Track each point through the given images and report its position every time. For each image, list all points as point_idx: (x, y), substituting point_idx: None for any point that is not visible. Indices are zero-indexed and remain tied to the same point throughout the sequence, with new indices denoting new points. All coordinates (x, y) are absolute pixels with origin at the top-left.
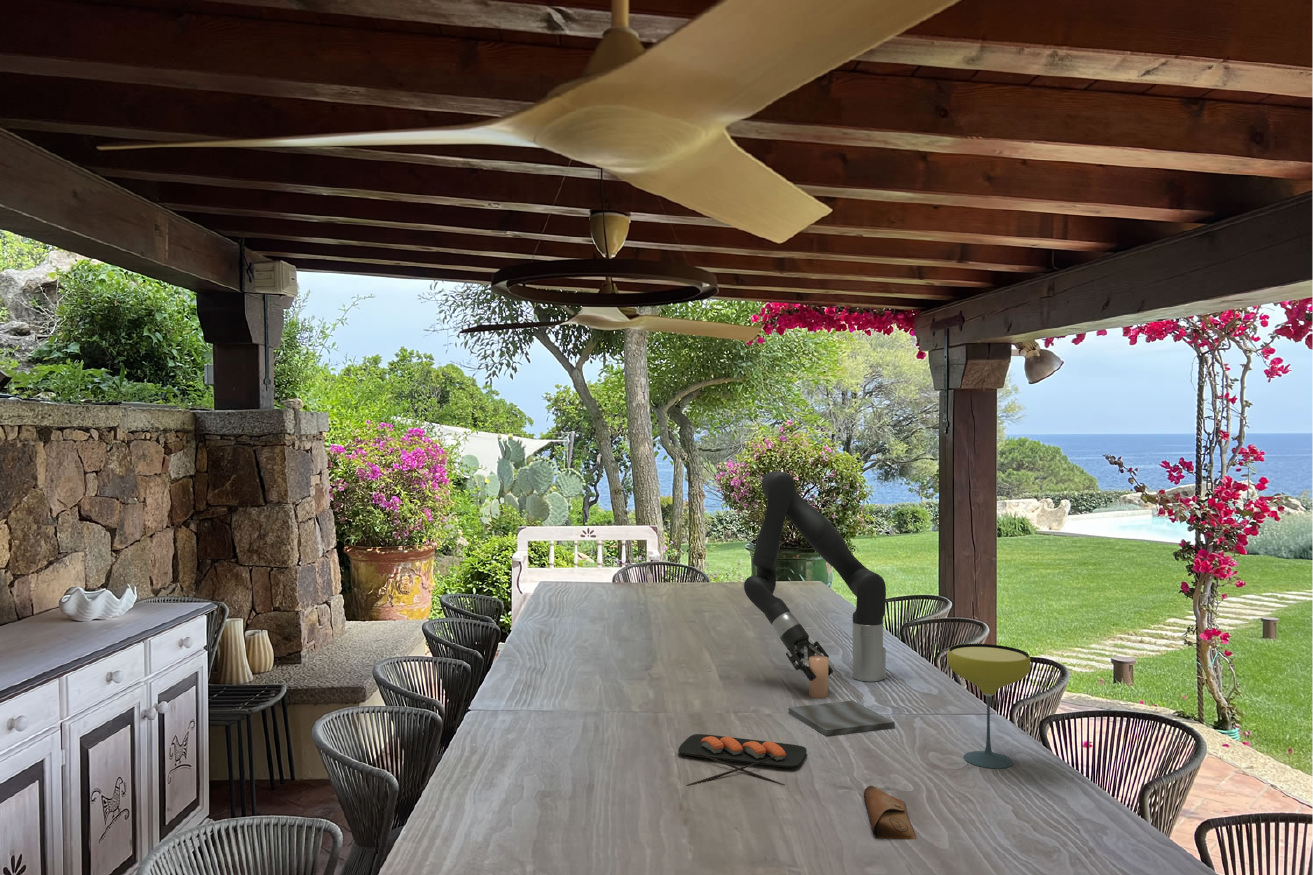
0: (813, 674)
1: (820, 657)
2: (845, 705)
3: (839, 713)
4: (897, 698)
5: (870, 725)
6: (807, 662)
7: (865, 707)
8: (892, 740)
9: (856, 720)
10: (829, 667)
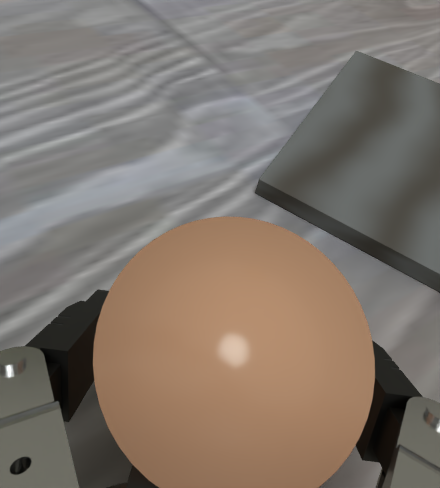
0: None
1: (209, 318)
2: (335, 178)
3: (428, 162)
4: (69, 118)
5: (427, 80)
6: (402, 427)
7: (302, 126)
8: (425, 53)
9: (433, 110)
10: (98, 307)
